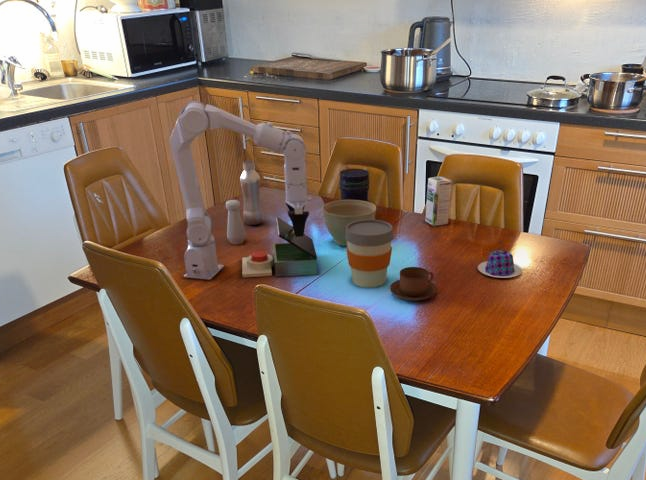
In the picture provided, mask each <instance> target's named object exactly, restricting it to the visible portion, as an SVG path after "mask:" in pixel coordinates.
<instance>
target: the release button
mask: <svg viewBox="0 0 646 480" xmlns="http://www.w3.org/2000/svg"><path fill="white" fill-rule="evenodd" d="M267 254H268V252H266V251H264V250H258V251H257V250H256V251H254V252H252V253H251V254H250V255H251V256H252V261H253V262H264V261H267V260H268V258H267Z"/></svg>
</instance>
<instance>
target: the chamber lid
mask: <svg viewBox="0 0 646 480" xmlns="http://www.w3.org/2000/svg"><path fill="white" fill-rule="evenodd" d="M275 220H276V228H277V236H278V237H279V238H281V239H282V240H284V241H285V242H286V243H288V242H289V243H290V244H292V245H294V246H295V247H297V248H298V249H300V250H302V251H303V252H305V253H306V254H308V255H310V256H311V257H313V258H315V259H317V260H318V256H317V252H316V248H315V244H314V241H313V238H311V237H310V236H308V235H307V234H305V233H304V235H303V236H302V237H296V236H295V233H294V228H293V225H291V224H289V223H288V222H287V221H285V220H284V219H282V218H280V217H278V216H276V217H275Z"/></svg>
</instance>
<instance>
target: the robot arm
mask: <svg viewBox="0 0 646 480" xmlns="http://www.w3.org/2000/svg"><path fill="white" fill-rule="evenodd" d="M208 126H209V130H210V131H213V130H217V129H220V128H222V129H223V128H224V129H227V130H229V131H231V132H235V133H238V134H241V135H243V136H246V137H249V138H252V139H253V141H254V144H255V145H256V146H259V147H261V148H264V149H265V150H269V151H271V152H273V153H277V154H283V157H284V164H283V171H284V172H283V173H284V188H285V189H284V190H285V200H284V201H285V205H286V207H287V209H288V210H287V215H288V217H289V219H290V221H291V224H292V226H293V228H294V233H295V236H296V237H302V236H303V235H304V234H305V228H306V223H307V220H308V217H309V216H310V211H309V210H306V211H305V207H306V205H307V203H308V202H309V203H310V202H313V199H312V197H311V196H308V189H307V188H308V186H307V181H308V180H307V165H306V154H307V148H306V144H305V142H304V139H303V138H302V137H301V136H300V135H299V134H297V133H296V132H291V130H288V129H287V130H286V131H285V130H283V129H281V128H278V127H276V126H274V123H273V122H271V121H267V123H266V122H260V123H258V124H255V123H253V122H250V121H249V120H246V119H244V118H242V117H239V116H237V115H236V114H232V113H230V112H229V111H226V110H224V109H221V108H220V107H216V106H214V105H211V104H208V103H207V104H205V103H203V102H201V101H199V100H193V101H190V102H188V103H187V104H186V105H185V107H184V108H182V109H181V111H180V112H179V114H178V117H177V120H176V122H175V125H174V127H173V129H172V132H171V134H170V137H169V146H170V150H171V154H172V159H173V162H174V167H175V170H176V175H177V178H178V183H179V188H180V191H181V195H182V198H183V204H184V208H185V215H186V223H187V228H186V237H187V249H186V250H185V252H184V254H183V261H184V266H185V267H184V268H185V273H184V274H183V277H184V278H187V279H188V278H189V279H197V280H208V281H209V280H212V279H213V278H214V277H215V276H216V275H217V274H218V273H219V272H221V270H223V268H224V267H225V265H224V264H219V263H218V255H217V247H216V240H215V236H214V235H213V234H212V228H213V220H212V218H211V217H210V215H209V214H208V213H207V210H206V206H205V204H204V201H203V197H202V192H201V188H200V183H199V179H198V175H197V171H196V167H195V162H194V158H193V152H192V148H191V145H192V143H193V142H194V140H195V139H196V138H197V137H198V136H200V135H202V134H203V133H204V132H206V130H207V129H208Z"/></svg>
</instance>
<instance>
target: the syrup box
mask: <svg viewBox="0 0 646 480" xmlns="http://www.w3.org/2000/svg"><path fill="white" fill-rule="evenodd" d="M451 192H452V180H451V179H449V178H446V177H444V176H433V177H429V178H427V190H426V204H425V205H426V206H425V219H424V220H425V222H426V223H428V225H429V224H430V225H431V226H432V227H439V226H443V225H444V226H445V225H448V224H449V217H450V216H449V215H450V205H451Z"/></svg>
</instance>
